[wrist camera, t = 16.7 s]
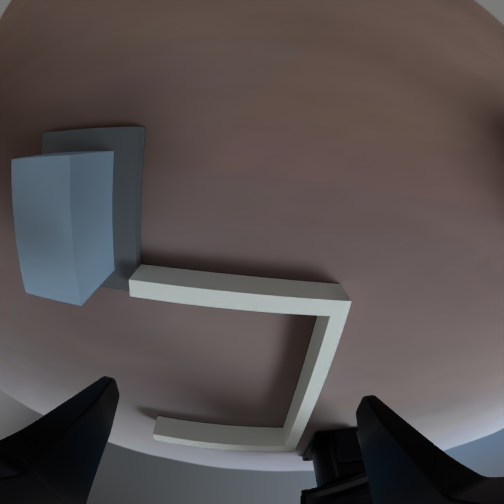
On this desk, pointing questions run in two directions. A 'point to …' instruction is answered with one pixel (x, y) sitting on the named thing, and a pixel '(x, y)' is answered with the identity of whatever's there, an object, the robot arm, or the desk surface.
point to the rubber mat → (114, 188)
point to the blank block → (64, 223)
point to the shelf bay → (264, 300)
